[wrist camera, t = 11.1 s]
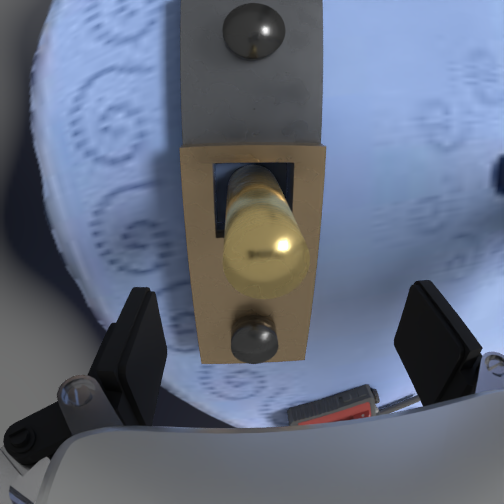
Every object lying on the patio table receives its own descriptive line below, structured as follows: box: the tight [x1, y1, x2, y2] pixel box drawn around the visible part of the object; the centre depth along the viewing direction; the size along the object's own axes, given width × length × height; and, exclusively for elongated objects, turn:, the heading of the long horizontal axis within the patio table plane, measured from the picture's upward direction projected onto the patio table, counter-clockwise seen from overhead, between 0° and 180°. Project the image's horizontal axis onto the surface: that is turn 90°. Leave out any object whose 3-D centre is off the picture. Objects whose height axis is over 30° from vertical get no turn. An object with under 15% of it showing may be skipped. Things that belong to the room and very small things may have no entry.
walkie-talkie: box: [287, 384, 420, 426], centre depth 38 cm, size 9×4×20 cm
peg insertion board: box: [180, 0, 326, 364], centre depth 23 cm, size 10×32×5 cm, turn 0°
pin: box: [223, 165, 310, 299], centre depth 20 cm, size 4×4×12 cm
